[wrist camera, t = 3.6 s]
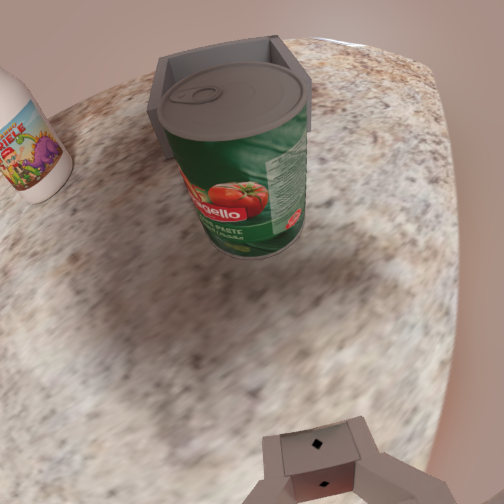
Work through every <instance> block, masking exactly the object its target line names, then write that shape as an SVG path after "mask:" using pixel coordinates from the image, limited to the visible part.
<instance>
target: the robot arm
mask: <svg viewBox="0 0 504 504" xmlns="http://www.w3.org/2000/svg"><path fill="white" fill-rule="evenodd" d="M262 448H263V464H264V480H259V482H258V483H257V484H256V486H255V487H254V488H253V490H252V491H251V492H250V494H249V495H248V496H247V498H246V499H245V500H244V502H243V503H242V504H297V503H301V502H306V501H310V500H315V499H319V498H323V497H328V496H333V495H337V494H342V493H346V492H350V491H353V492H354V493H355V494H356V495H358V496H359V497H360V498H362V499H363V500H364V501H366V502H367V503H368V504H457V503H456V501H455V499H454V497H453V495H452V494H451V492H450V490H449V488H448V486H447V484H446V483H445V482H444V481H442V480H439V479H437V478H435V477H432V476H431V475H429V474H426V473H424V472H422V471H420V470H418V469H416V468H414V467H412V466H410V465H408V464H406V463H404V462H402V461H400V460H398V459H396V458H394V457H393V456H391V455H389V454H387V453H385V452H384V453H379V451H378V449H377V446H376V444H375V442H374V439H373V437H372V435H371V433H370V430H369V428H368V426H367V424H366V422H365V419H364V417H362V416H359V417H355V418H352V419H348V420H343V421H340V422H336V423H332V424H328V425H324V426H320V427H316V428H313V429H309V430H303V431H298V432H292V433H285V434H279V435H273V436H266V437H263V439H262ZM482 504H504V489H503V490H502V491H500V492H499V493H498V494H496V495H494V496H493V497H491V498H490V499H488V500H487V501H485V502H484V503H482Z"/></svg>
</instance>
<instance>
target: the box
mask: <svg viewBox="0 0 504 504" xmlns="http://www.w3.org/2000/svg"><path fill="white" fill-rule="evenodd" d="M241 61H257V62H267V63H272V64H276V65H280V66H283V67H285V68H288V69H290V70H291V71H293V72H295V73H296V74H298V75H299V76H300V77H301V78H302V79H303V80H304V82H305V84H306V85H307V91H308V97H307V132H309V131H311V88H312V79H311V78H310V77H309V75H308V74H307V73H306V71H305V70H304V68H303V67H302V66H301V64H300V63H299V62H298V61H297V59H296V58H295V57H294V55H293V54H292V53H291V51H290V50H289V49H288V48H287V46H286V45H285V44H284V43H283V41H282V40H281V39H280V38H279V37H278V36H277V35H274V36H266V37H257V38H249V39H243V40H237V41H230V42H225V43H219V44H215V45H209V46H205V47H200V48H196V49H192V50H187V51H183V52H179V53H176V54H172V55H168V56H165V57H161V58H159V61H158V65H157V69H156V72H155V76H154V80H153V85H152V89H151V93H150V98H149V102H148V107H147V113H148V116H149V118H150V121H151V123H152V126H153V128H154V131H155V133H156V135H157V138H158V140H159V143H160V145H161V147H162V150H163V152H164V155H165V157H166V159H169V158H173V157H174V155H173V152H172V149H171V147H170V145H169V142H168V139H167V136H166V134H165V131H164V128H163V126H162V124H161V123H160V121H159V119H158V113H157V109H158V104H159V102H160V100H161V99H162V97H163V95H164V94H165V93H166V92H167V91H168V90H169V89H170V88H171V87H172V86H173V85H174V84H176V83H177V82H179V81H180V80H182V79H183V78H185V77H187V76H189V75H191V74H193V73H195V72H197V71H200V70H202V69H205V68H208V67H212V66H216V65H219V64H225V63H231V62H241Z"/></svg>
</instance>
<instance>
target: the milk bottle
mask: <svg viewBox="0 0 504 504" xmlns="http://www.w3.org/2000/svg"><path fill="white" fill-rule="evenodd" d="M72 167H73V164H72V158H71V157H70V155H69V153H68V152H67V150H66V149H65V147H64V145H63V144H62V142H61V141H60V139H59V138H58V136H57V134H56V133H55V131H54V130H53V128H52V126H51V125H50V123H49V121H48V120H47V118H46V117H45V115H44V113H43V112H42V110H41V108H40V107H39V105H38V103H37V102H36V100H35V99H34V97H33V96H32V94H31V92H30V91H29V89H28V88H27V87H26V85H25V84H24V83H23V82H22V81H21V80H19V79H18V78H17V77H15V76H14V75H12V74H10V73H8V72H6V71H5V70H4V69H3V68H1V67H0V171H1V172H2V173H3V175H4V176H5V177H6V178H7V179H8V181H9V182H10V183H11V184H12V185H13V187H14V188H15V189H16V190H17V191H18V192H19V193H20V195H21V196H22V197H23V198H24V199H25V200H26V201H27V202H29V203H31V204H39V203H41V202H44V201H45V200H47V199H49V198H50V197H52V196H53V195H54V194H55V193H56V192H57V191H58V190H59V189H60V188H61V187H62V186H63V185H64V184H65V182H66V181H67V179H68V178H69V176H70V174H71V171H72Z"/></svg>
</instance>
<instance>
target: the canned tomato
mask: <svg viewBox="0 0 504 504" xmlns="http://www.w3.org/2000/svg"><path fill="white" fill-rule="evenodd" d="M307 97H308V91H307V85H306V84H305V82H304V80H303V79H302V78H301V77H300V76H299V75H298V74H296V73H295V72H293V71H291V70H290V69H288V68H285V67H283V66H280V65H276V64H272V63H267V62H257V61H241V62H231V63H225V64H219V65H216V66H212V67H208V68H205V69H202V70H200V71H197V72H195V73H193V74H191V75H189V76H187V77H185V78H183V79H182V80H180V81H179V82H177V83H176V84H174V85H173V86H172V87H171V88H170V89H169V90H168V91H167V92H166V93H165V94H164V95H163V97H162V99H161V100H160V102H159V104H158V109H157V113H158V119H159V121H160V123H161V124H162V126H163V128H164V131H165V134H166V136H167V139H168V142H169V145H170V147H171V149H172V152H173V155H174V157H175V159H176V162H177V165H178V167H179V169H180V172H181V175H182V176H183V178H184V182H185V184H186V186H187V189H188V192H189V194H190V196H191V199H192V201H193V203H194V206H195V208H196V210H197V213H198V215H199V217H200V221H201V222H202V224H203V227H204V230H205V233H206V235H207V237H208V239H209V240H210V242H211V243H212V244H213V245H214V246H215V247H216V248H217V249H218V250H220V251H221V252H223V253H224V254H226V255H229V256H231V257H234V258H239V259H244V260H258V259H263V258H268V257H271V256H274V255H276V254H278V253H280V252H282V251H284V250H285V249H287V248H288V247H289V246H290V245H292V244H293V243H294V242H295V240H296V239H297V238H298V237H299V235H300V233H301V231H302V229H303V227H304V222H305V204H306V202H305V198H306V172H307V170H306V164H307V158H306V155H307Z"/></svg>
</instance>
